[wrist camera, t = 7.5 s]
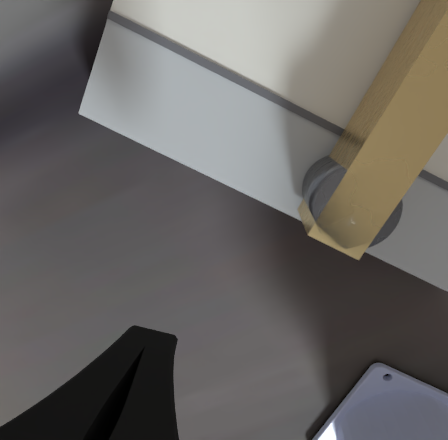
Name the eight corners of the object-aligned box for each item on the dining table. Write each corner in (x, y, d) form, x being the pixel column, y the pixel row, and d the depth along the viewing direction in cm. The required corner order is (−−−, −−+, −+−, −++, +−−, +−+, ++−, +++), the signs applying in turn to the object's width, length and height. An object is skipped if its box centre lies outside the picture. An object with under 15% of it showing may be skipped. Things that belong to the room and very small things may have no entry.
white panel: (682, 4, 14) (979, -63, 8) (455, 282, 18) (544, 363, 13) (225, -261, 12) (202, -561, 7) (102, 111, 17) (27, 117, 11)
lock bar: (345, 232, 15) (368, 265, 12) (288, 203, 15) (297, 230, 12) (552, -80, 11) (662, -146, 8) (478, -124, 11) (562, -210, 8)
